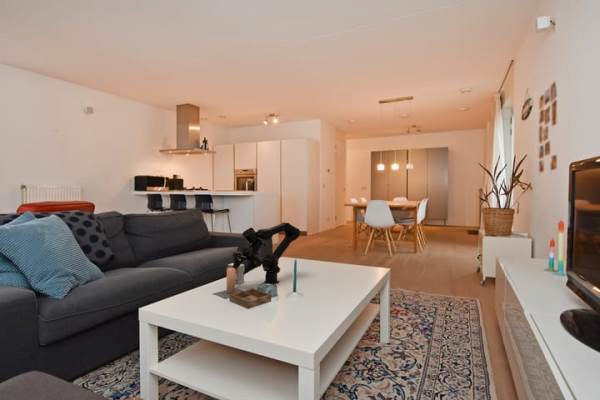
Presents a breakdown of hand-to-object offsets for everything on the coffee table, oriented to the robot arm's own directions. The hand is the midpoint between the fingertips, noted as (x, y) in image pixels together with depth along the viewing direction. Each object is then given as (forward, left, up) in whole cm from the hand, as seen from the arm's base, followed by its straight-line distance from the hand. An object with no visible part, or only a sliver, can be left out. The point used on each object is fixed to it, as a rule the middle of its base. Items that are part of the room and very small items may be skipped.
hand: (237, 272), depth 166 cm
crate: (+4, +16, -10) cm, 20 cm away
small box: (-10, -15, -11) cm, 21 cm away
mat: (+4, 0, -10) cm, 11 cm away
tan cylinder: (+4, 0, -10) cm, 11 cm away
